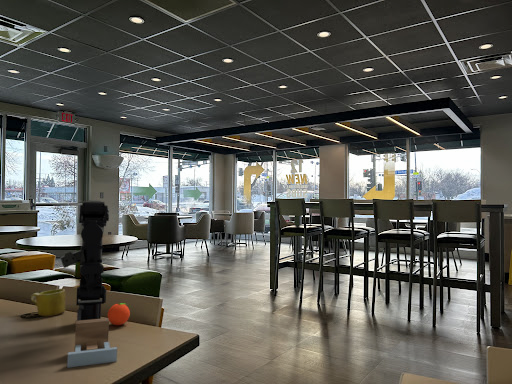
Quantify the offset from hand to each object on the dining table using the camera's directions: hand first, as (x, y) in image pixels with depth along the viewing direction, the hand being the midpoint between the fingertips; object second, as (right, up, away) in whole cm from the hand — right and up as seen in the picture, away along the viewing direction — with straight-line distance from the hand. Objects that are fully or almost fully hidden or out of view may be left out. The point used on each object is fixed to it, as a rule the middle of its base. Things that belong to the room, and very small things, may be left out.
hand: (90, 293), depth 118 cm
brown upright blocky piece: (+8, -11, -18) cm, 23 cm away
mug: (-25, -13, +22) cm, 36 cm away
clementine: (+6, -13, +10) cm, 17 cm away
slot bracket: (+9, -11, -21) cm, 25 cm away
